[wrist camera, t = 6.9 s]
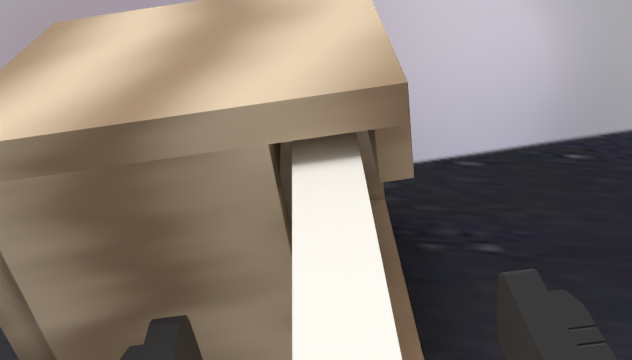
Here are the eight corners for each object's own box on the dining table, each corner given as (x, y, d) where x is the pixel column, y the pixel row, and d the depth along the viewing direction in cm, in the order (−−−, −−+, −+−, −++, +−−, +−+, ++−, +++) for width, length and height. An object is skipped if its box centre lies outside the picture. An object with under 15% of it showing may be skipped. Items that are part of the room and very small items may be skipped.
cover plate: (362, 715, 13) (292, 436, 8) (332, 333, 22) (291, 97, 17) (437, 707, 13) (414, 421, 8) (375, 327, 22) (347, 89, 17)
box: (74, 457, 19) (-97, 155, 13) (141, 258, 28) (54, 22, 22) (429, 414, 19) (407, 82, 13) (385, 225, 27) (361, -25, 21)
